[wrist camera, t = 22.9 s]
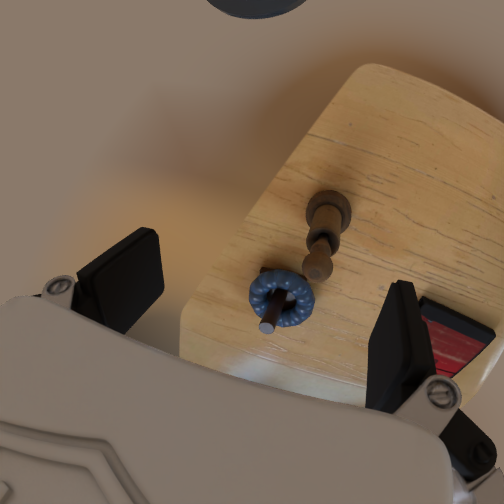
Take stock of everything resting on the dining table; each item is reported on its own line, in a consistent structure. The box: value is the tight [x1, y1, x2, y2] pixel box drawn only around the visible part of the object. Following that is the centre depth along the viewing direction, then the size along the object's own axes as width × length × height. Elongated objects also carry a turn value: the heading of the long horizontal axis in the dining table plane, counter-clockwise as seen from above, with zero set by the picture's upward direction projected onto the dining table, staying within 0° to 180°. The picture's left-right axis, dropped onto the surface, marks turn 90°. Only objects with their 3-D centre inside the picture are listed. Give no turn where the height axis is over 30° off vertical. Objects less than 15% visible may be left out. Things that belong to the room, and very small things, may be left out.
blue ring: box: [249, 269, 315, 327], centre depth 48 cm, size 11×11×3 cm
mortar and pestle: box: [302, 190, 351, 283], centre depth 34 cm, size 7×6×18 cm
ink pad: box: [418, 296, 496, 378], centre depth 44 cm, size 16×2×21 cm
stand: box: [259, 267, 307, 334], centre depth 46 cm, size 8×8×10 cm
